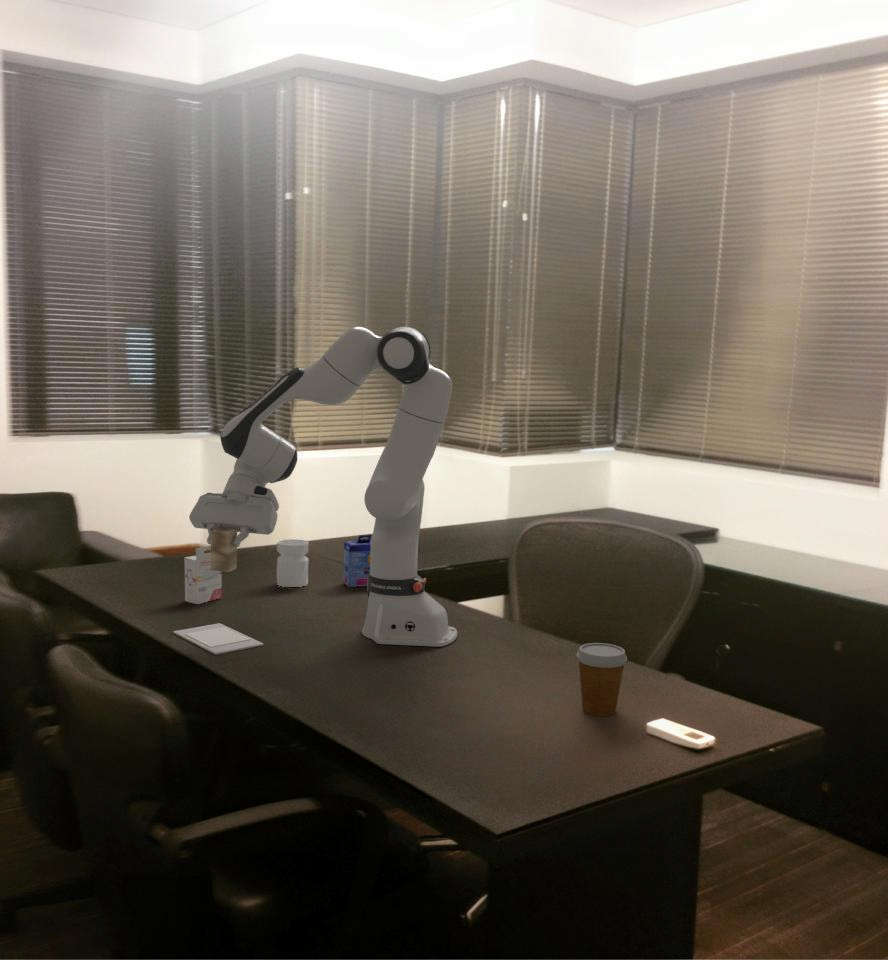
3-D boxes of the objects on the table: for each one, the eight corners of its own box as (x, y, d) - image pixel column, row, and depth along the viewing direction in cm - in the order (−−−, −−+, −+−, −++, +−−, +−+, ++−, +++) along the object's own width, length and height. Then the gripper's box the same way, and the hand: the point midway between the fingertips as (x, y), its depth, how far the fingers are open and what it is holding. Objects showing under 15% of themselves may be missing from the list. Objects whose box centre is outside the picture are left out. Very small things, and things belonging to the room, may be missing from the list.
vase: (271, 586, 282) (271, 543, 281) (285, 579, 291) (285, 538, 289) (300, 589, 280) (300, 546, 278) (313, 582, 288) (313, 540, 286)
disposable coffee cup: (590, 697, 202) (593, 639, 200) (633, 710, 196) (636, 649, 194) (564, 710, 195) (567, 649, 193) (607, 723, 189) (611, 660, 187)
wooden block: (236, 568, 234) (237, 529, 233) (228, 572, 230) (229, 532, 229) (218, 566, 235) (219, 528, 234) (210, 570, 231) (210, 531, 230)
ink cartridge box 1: (209, 595, 271) (209, 540, 269) (222, 598, 268) (222, 543, 266) (183, 601, 264) (183, 545, 262) (196, 604, 261) (196, 548, 259)
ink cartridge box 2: (348, 588, 283) (349, 536, 281) (342, 583, 288) (343, 533, 286) (381, 585, 288) (383, 534, 286) (374, 580, 292) (375, 531, 290)
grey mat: (173, 633, 236) (173, 630, 236) (219, 624, 244) (219, 622, 244) (215, 654, 221) (215, 652, 221) (263, 645, 229) (263, 642, 229)
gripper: (197, 484, 239) (176, 532, 231) (278, 490, 234) (259, 540, 226) (206, 500, 244) (185, 548, 236) (285, 507, 239) (267, 556, 231)
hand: (222, 544), depth 231 cm, fingers closed on wooden block, 4 cm apart
